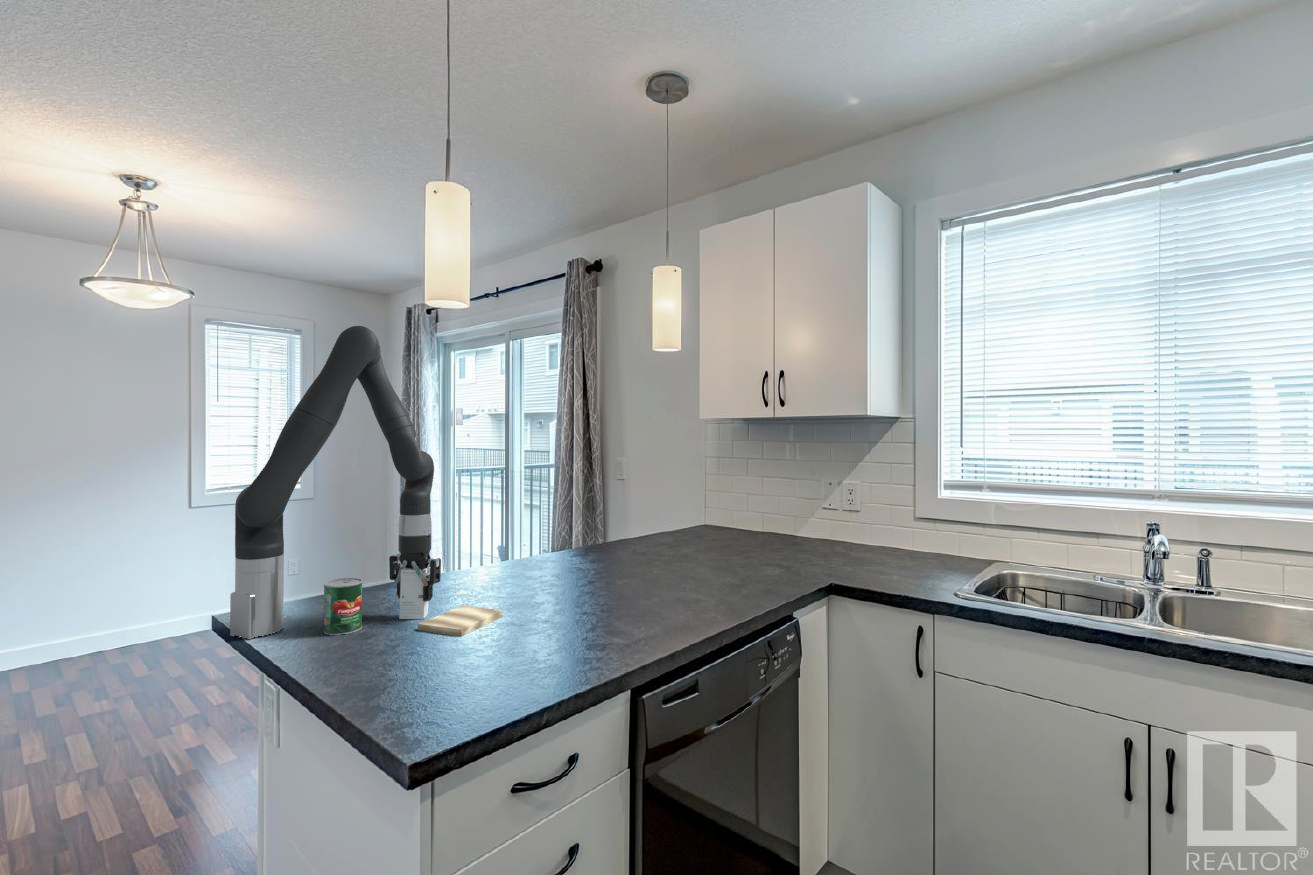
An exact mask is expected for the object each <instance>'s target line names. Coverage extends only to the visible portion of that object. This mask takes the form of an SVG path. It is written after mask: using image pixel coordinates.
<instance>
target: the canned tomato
mask: <svg viewBox="0 0 1313 875" xmlns="http://www.w3.org/2000/svg"><path fill="white" fill-rule="evenodd" d="M362 615H363V579H361V578H357V577H346V578H337V579H336V578H335V579H332V580H327V581H326V582H324V583H323V632H324V633H326V634H330V635H329V636H334V635H335V636H341V635H340V634H346V635H349V634H348V633H351V634H353V633H352V632H354V633H357V632H359V631H360V630H361V629H362V628H363V626H362V624H363V622H362V621H363V616H362ZM324 633H323V634H324ZM326 634H325V635H326Z"/></svg>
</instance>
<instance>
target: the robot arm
mask: <svg viewBox="0 0 1313 875" xmlns="http://www.w3.org/2000/svg"><path fill="white" fill-rule="evenodd" d="M356 380H358V382H359V384H360V385H361V387H362V388H363V390H364V392H365V395H366V396H367V399H368V400H369V403H370V406H371V409H372V412H373V414H374V416H375V419H376V421H377V424H378V426H379V428H380V430H381V432H382V434H383V435H384V438H385V439H386V440H385V441H387V443H388V448H389V452H390V454H391V455H390V456H391V459H392V463H393V465H394V467H395V469H396V471H397V473H398V474H399V475H400V477H402V478H403V479H405V481H404V482H405V483H404V488H403V490H402V492H401V494H400V497H399V499H400V500H399V518H398V519H399V520H398V552H399V553H400V554H393V555H390V556H389V565H388V566H389V579H390V580H391V581H394V582H395V583H396V595H397V599H400V582H401V570H402V569H406V568H410V569H415V571H416V573H417V575H418V577H419V578H420V579H421V580H422V582H423V584H424V586H423V601H425V602H427V601H428V602H429V601H431V600H432V598H433V597H434V589H433V588H434V585H435V584H437V583H438V584H439V583H441V574H442V570H441V569H442V559H441V558H440V557H438V558H432V557H431V555H430V552H431V550H432V518H431V517H432V516H431V507H432V505H431V501H432V500H431V492H432V487H433V481H434V476H435V464H434V460H433V457H432V456H431V455H430V454H429V453H427V452H426V451H423V450H420V448H419V446H418V443H417V440H416V437H417V430H416V429H415V426H414V424H413V422H412V420H411V418H410V416H409V414H408V412H407V410H406V408H405V406H404V403H402V400H400V397H399V396H398V393H396V391H395V389H394V388H393V386H392V384H391V381H390V379H389V376H388V375H387V372H386V368H385V366H384V362H383V358H382V354H381V346H380V342H379V340H378V337H377V336H376V334H375V333H374V332H373V331H372V329H370V328H368V327H367V326H364V325H352V326H350V327H348V328H346V329H344V330H343V331H341V333H340V334H339V336H338V337H337V339H336V341H335V343H334V345H333V348H332V349H331V351H330V353H329V355H328V357H327V360H326V362H325V364H324V366H323V367H322V369H321V371H320V372H319V374H318V375H317V376H316V378H315V379H314V380H313V381H312V383H311V385H310V386H309V387H308V389H307V390H306V391H305V393H304V394H303V396H302V397H301V399H300V400H299V402H298V403H297V405H296V406H295V408H294V409H293V411H292V412H291V414H290V415H289V416H288V418H287V421H286V422H285V424H284V426H283V427H282V428H281V431H280V433H279V435H278V437H277V440H276V442H275V445H274V447H273V450H272V451H271V452H272V453H271V455H270V456H269V459H268V460H267V462H266V463H265V465H264V467H263V468H262V469H261V471H260V472H259V473H258V475H257V476H256V477H255V479H254V480H253V481H252V482H251V484H249V486H247V487H245V488H244V489H242V490H241V491H240V492H239V494H238V496H237V497H236V499H235V503H234V504H235V505H234V506H235V508H234V510H235V511H234V517H235V518H234V552H235V553H234V558H235V560H234V561H235V563H234V566H235V568H234V570H235V571H234V573H235V574H234V591H232V592H231V593H230V595H229V596H230V597H229V598H230V601H229V602H230V611H229V612H230V614H229V615H230V616H229V618H230V619H229V620H230V621H229V628H230V629H229V636H230V637H234V635H237V636H241V637H243V638H242V639H246V638H247V640H251V639H255V638H259V637H258V636H262V635H267V634H271V633H273V632H277V633H279V632H281V631H282V630H283V629H284V582H285V581H284V572H285V569H284V568H285V563H284V562H285V554H284V553H285V541H284V512H285V511H286V507H287V505H288V504H289V500H290V498H291V496H292V494H293V492H294V491H295V488H296V486H297V484H298V482H299V480H300V478H301V477H302V475H303V474H304V472H306V470H307V468H308V467H309V466H310V465H311V463H312V462H313V460H315V458H316V456H317V455H318V454H319V452H320V451H321V450H322V448H323V446H324V445H325V444H326V442H327V441H328V439H329V438H330V436H331V434H332V432H333V431H334V429H335V428H336V426H337V424H338V423H339V421H340V418H341V416H342V413H343V411H344V408H345V405H346V403H347V399H348V397H349V394H350V392H351V389H352V387H353V385H354V384H355V381H356ZM429 567H430V568H429ZM426 568H427V569H428V571H427V573H423V572H422V570H423V569H426ZM426 576H427V578H426ZM427 579H428V580H427ZM282 628H283V629H282ZM281 629H282V630H281ZM280 630H281V631H280ZM278 631H279V632H278ZM271 635H272V634H271ZM267 636H268V635H267ZM254 637H255V638H254ZM262 637H263V636H262Z"/></svg>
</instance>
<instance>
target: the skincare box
mask: <svg viewBox="0 0 1313 875" xmlns="http://www.w3.org/2000/svg"><path fill="white" fill-rule="evenodd" d="M429 568H430V567H429ZM427 571H428V569H427V568H426V569H423V570H422V572H423V573H427ZM426 578H427V576H426ZM427 580H428V579H427ZM423 586H424V584H423V582H422V580H421V579H420V578H419V577H418V575H417V573H416V571H415V569H410V568H406V569H402V570H401V582H400V598H399V614H398V619H399V620H424V619H425V618H426V617H427V616H428V614H429V601H427V602H425V601H423Z"/></svg>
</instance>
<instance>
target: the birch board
mask: <svg viewBox="0 0 1313 875" xmlns="http://www.w3.org/2000/svg"><path fill="white" fill-rule="evenodd" d="M503 612H504V611H503V610H501V609H492V608H487V607H486V608H484V607H477V606H468V605H460V606H459V607H455V608H453V609H451V610H448V611H446V612H443V613H440V614H438V615H436V616H434V617H431V618H429V619H426V620H423V621H421V622H419V623H417V630H418V631H422V632H428V633H436V634H443V635H448V636H449V635H450V636H457V637H464V636H465V635H467V634H469V633H472V632H473V631H476V630H478V629H480V628H482V627H485V626H486V625H488V624H490V623H492V622H493V623H494V621H496V620H498V619H501V618H503V616H504V615H503V614H504V613H503Z"/></svg>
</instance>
